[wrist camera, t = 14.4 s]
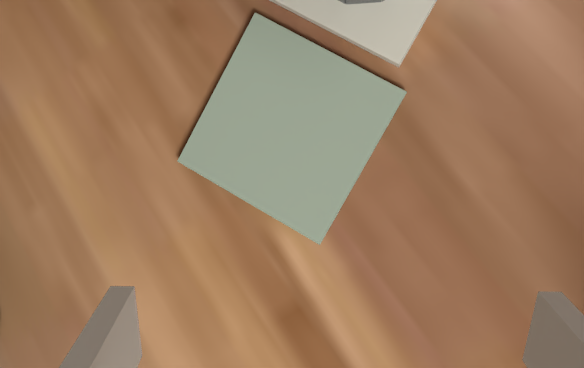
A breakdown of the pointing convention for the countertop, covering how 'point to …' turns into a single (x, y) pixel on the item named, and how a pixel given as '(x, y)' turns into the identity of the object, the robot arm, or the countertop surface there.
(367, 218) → the countertop surface
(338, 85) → the mat
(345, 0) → the grey ribbed cylinder
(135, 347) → the robot arm
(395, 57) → the board
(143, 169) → the countertop surface
